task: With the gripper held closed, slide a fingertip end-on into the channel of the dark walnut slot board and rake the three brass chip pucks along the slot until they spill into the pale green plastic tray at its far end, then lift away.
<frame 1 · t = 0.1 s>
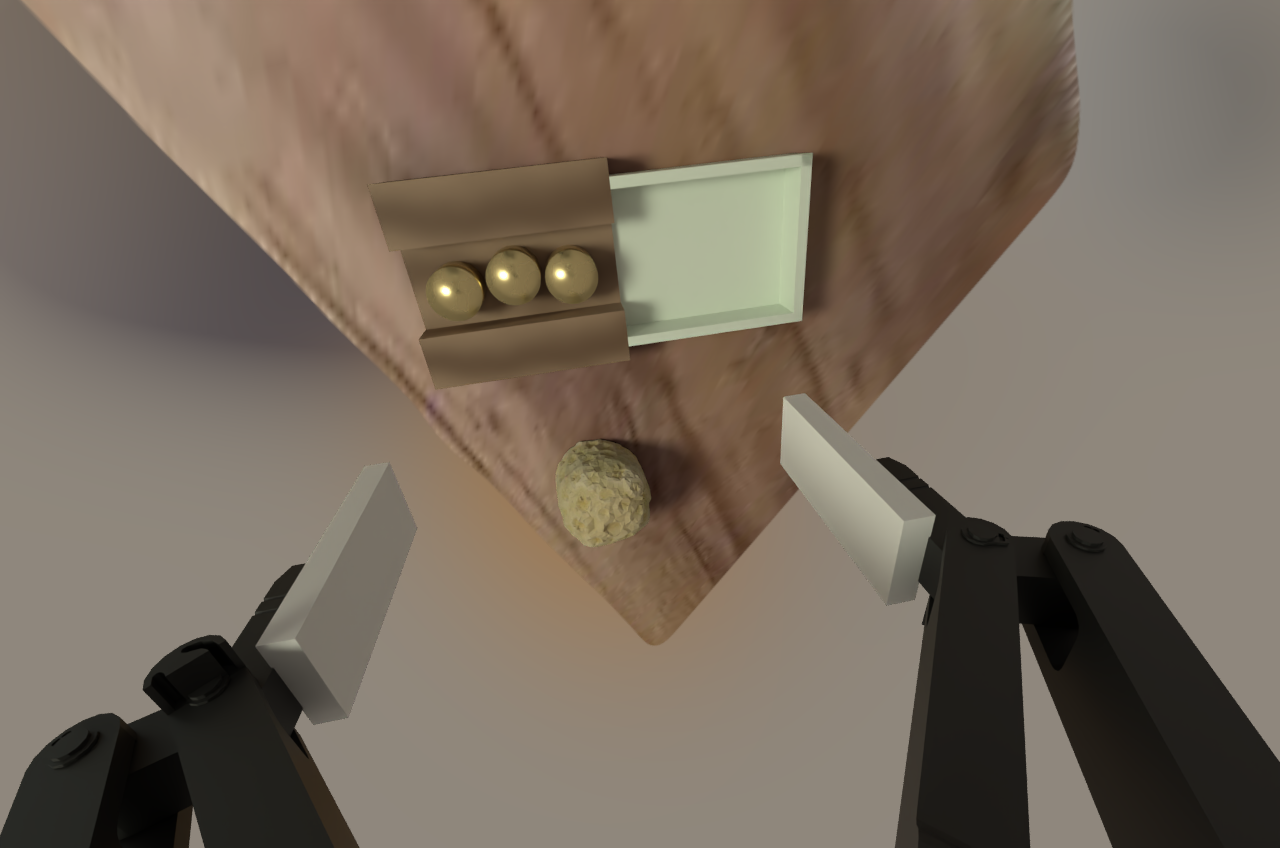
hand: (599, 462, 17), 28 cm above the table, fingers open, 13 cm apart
chip b: (515, 271, 39), point 1 cm above the table, touching slot board
chip a: (459, 287, 39), point 1 cm above the table, touching slot board
slot board: (517, 273, 40), on the table
chip c: (570, 271, 40), point 1 cm above the table, touching slot board
tray: (702, 248, 41), on the table
decorative object: (601, 474, 51), on the table
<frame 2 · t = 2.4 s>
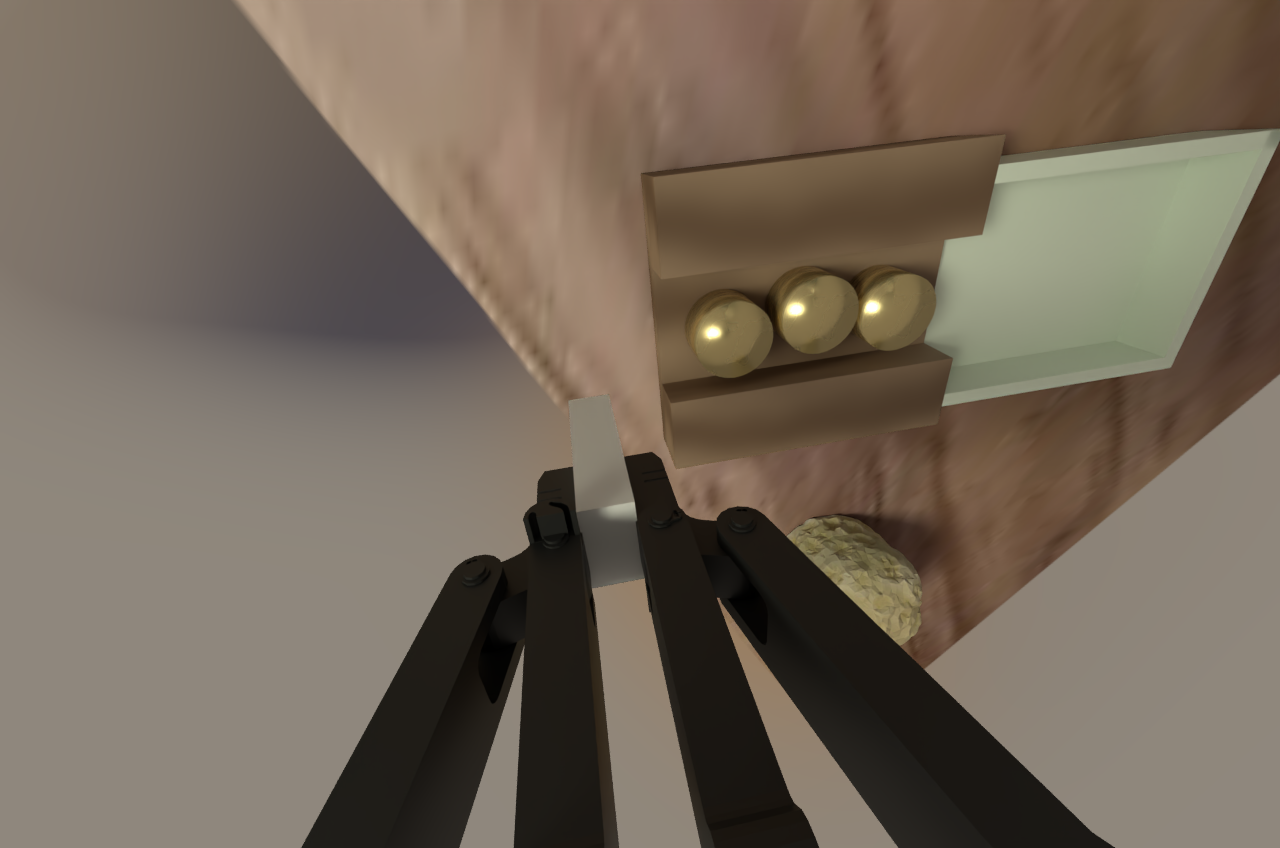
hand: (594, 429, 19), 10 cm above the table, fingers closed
chip b: (799, 303, 27), point 1 cm above the table, touching slot board
chip a: (720, 325, 27), point 1 cm above the table, touching slot board
slot board: (791, 303, 28), on the table
chip c: (872, 301, 28), point 1 cm above the table, touching slot board
tray: (1041, 267, 29), on the table
decorative object: (823, 555, 39), on the table
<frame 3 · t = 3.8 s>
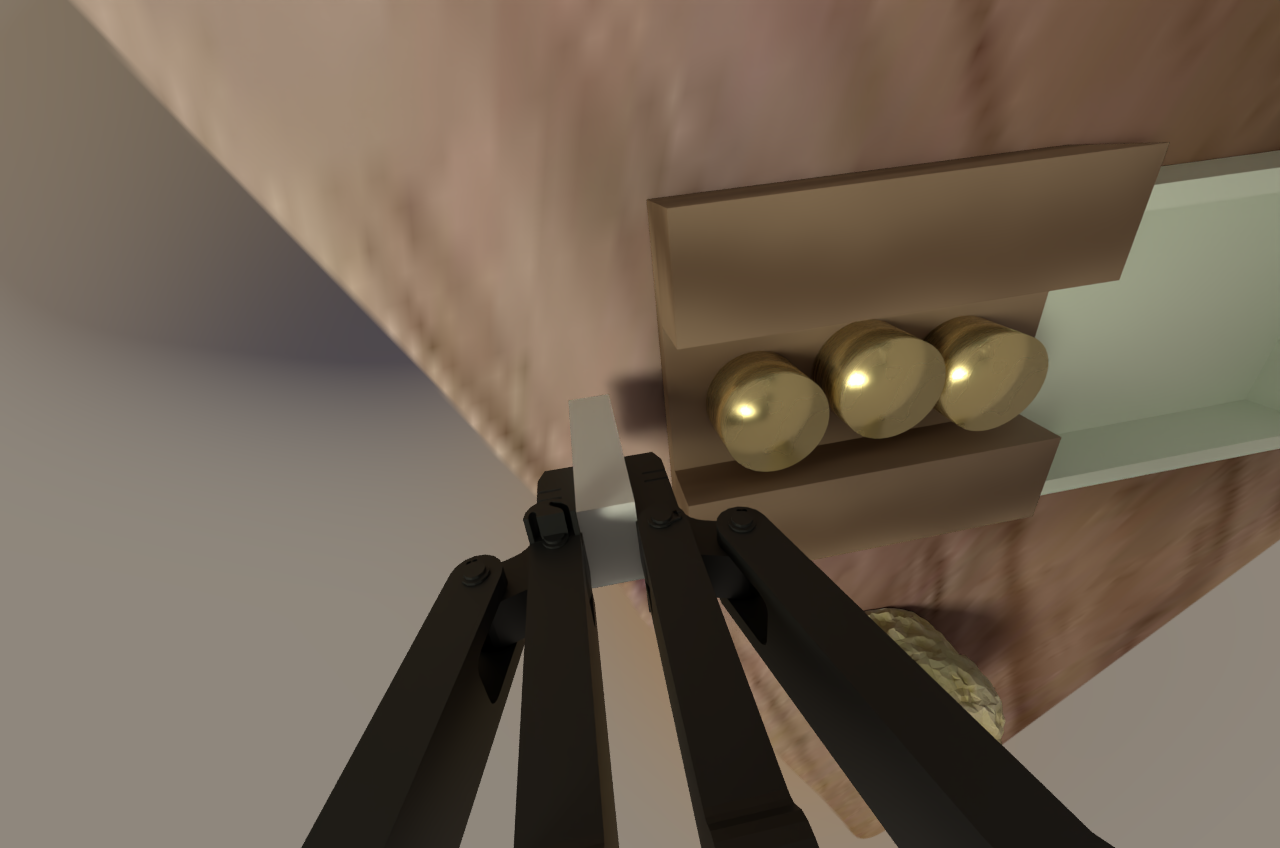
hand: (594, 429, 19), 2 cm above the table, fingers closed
chip b: (857, 366, 20), point 1 cm above the table, touching slot board
chip a: (752, 397, 20), point 1 cm above the table, touching slot board
slot board: (844, 364, 21), on the table
chip c: (951, 361, 21), point 1 cm above the table, touching slot board
tray: (1163, 312, 23), on the table
decorative object: (868, 650, 32), on the table
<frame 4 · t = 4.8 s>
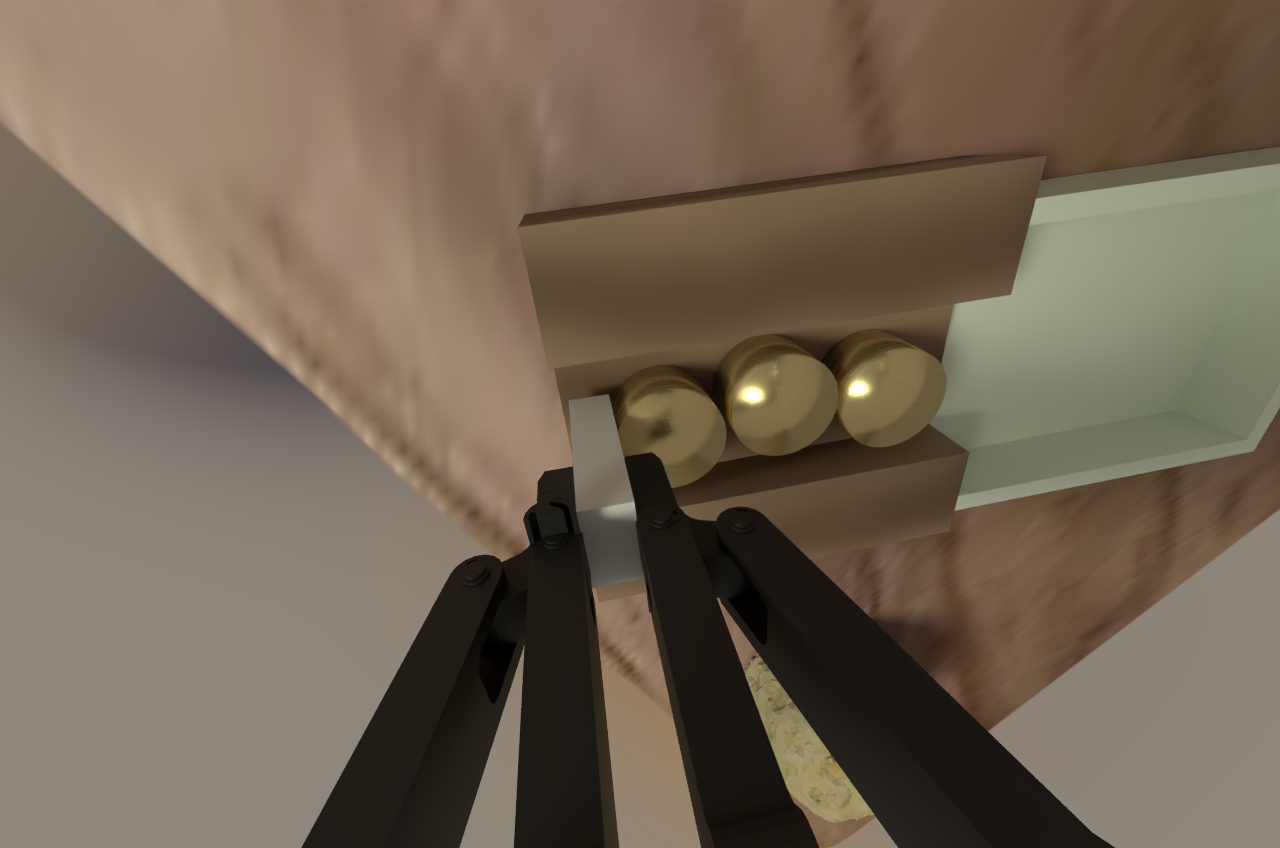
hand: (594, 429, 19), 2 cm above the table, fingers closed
chip b: (760, 381, 20), point 1 cm above the table, touching slot board
chip a: (659, 411, 20), point 1 cm above the table, touching gripper, slot board
slot board: (751, 378, 21), on the table
chip c: (859, 375, 21), point 1 cm above the table, touching slot board
tray: (1081, 323, 22), on the table
decorative object: (808, 662, 32), on the table
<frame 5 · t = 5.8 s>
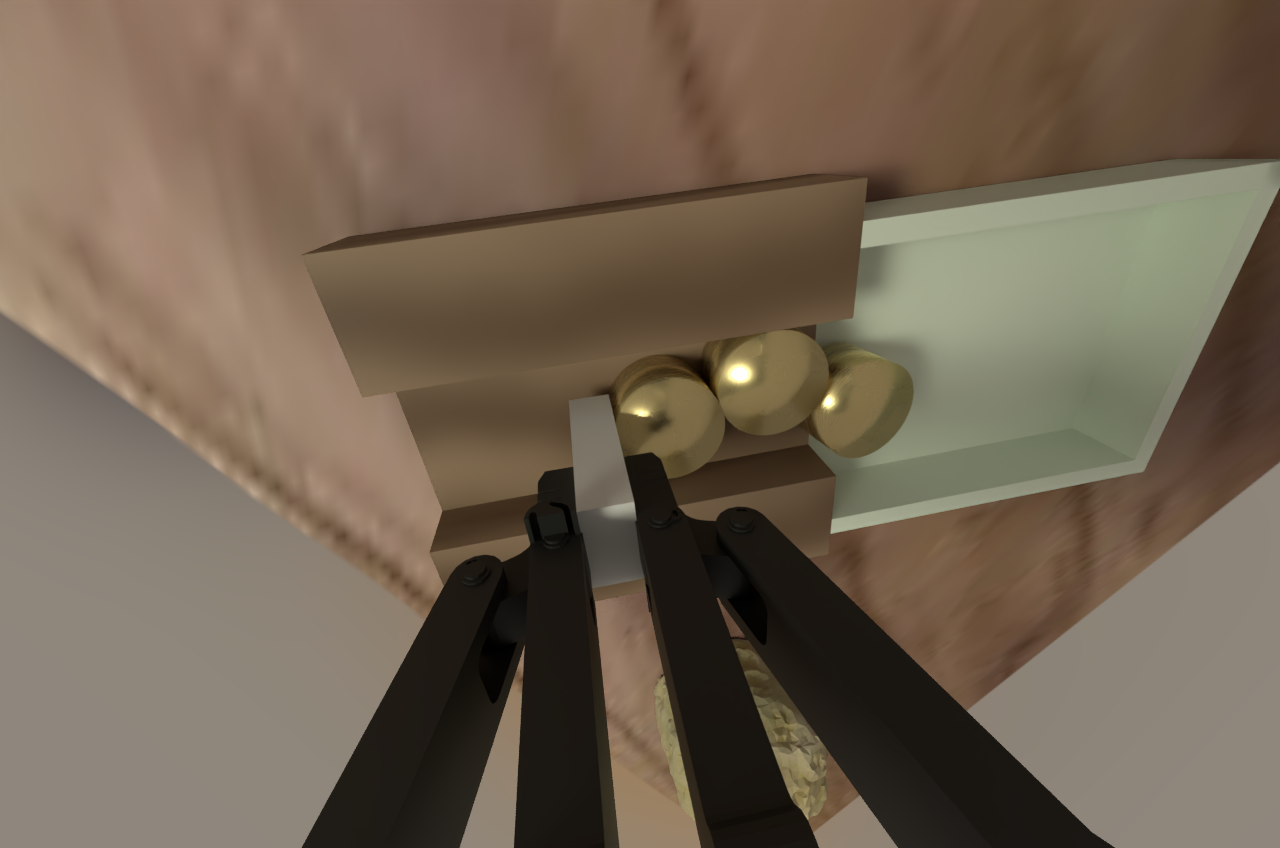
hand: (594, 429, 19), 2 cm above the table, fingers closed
chip b: (749, 360, 19), point 1 cm above the table, touching chip a, chip c
chip a: (657, 401, 20), point 1 cm above the table, touching chip b, gripper
slot board: (618, 399, 20), on the table
chip c: (827, 387, 21), point 1 cm above the table, tilted 10°, touching chip b, slot board, tray
tray: (964, 341, 22), on the table
decorative object: (722, 680, 31), on the table
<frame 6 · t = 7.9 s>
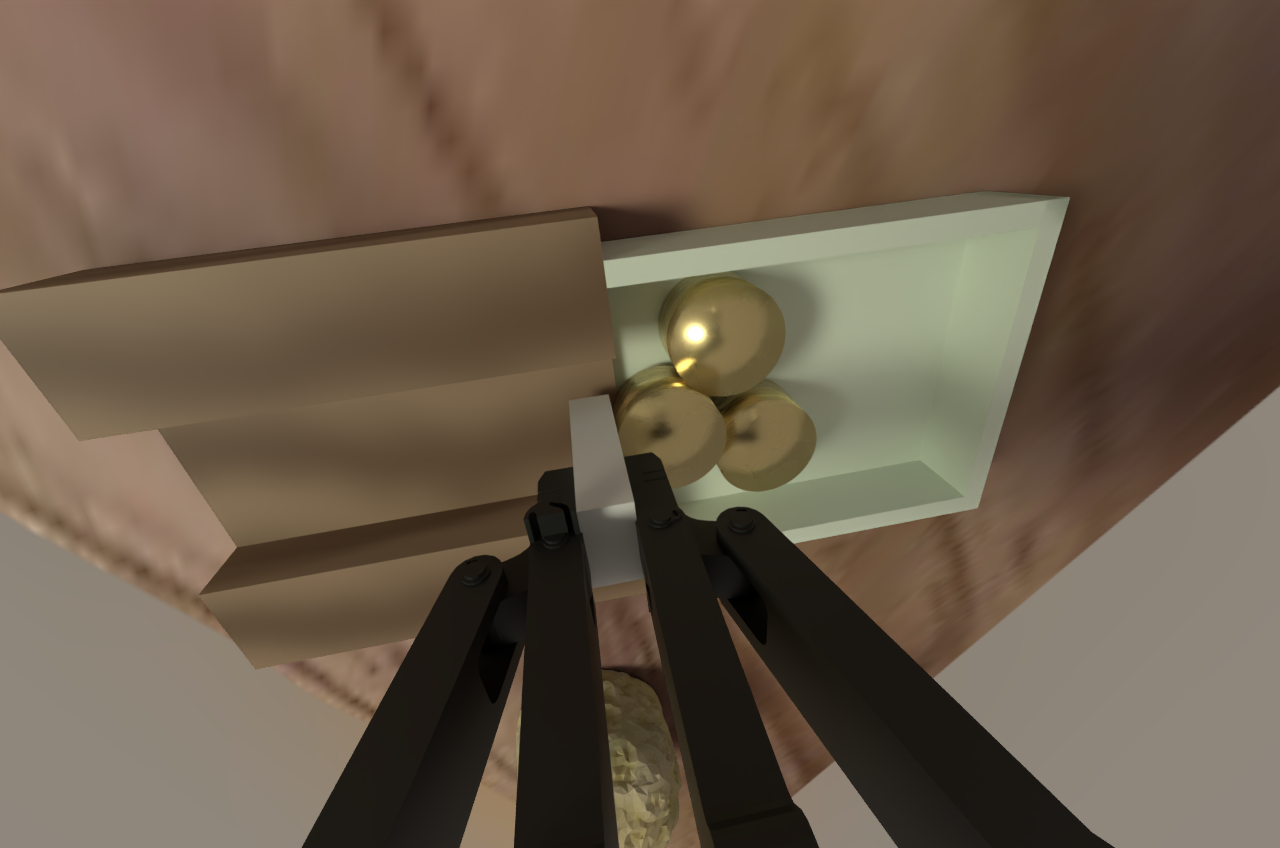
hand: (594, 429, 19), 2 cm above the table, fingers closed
chip b: (709, 321, 19), resting on tray, touching chip a
chip a: (659, 412, 20), point 1 cm above the table, touching chip b, chip c, gripper, slot board
slot board: (420, 433, 20), on the table
chip c: (745, 419, 21), point 1 cm above the table, touching chip a, tray
tray: (789, 373, 21), on the table
decorative object: (594, 709, 31), on the table
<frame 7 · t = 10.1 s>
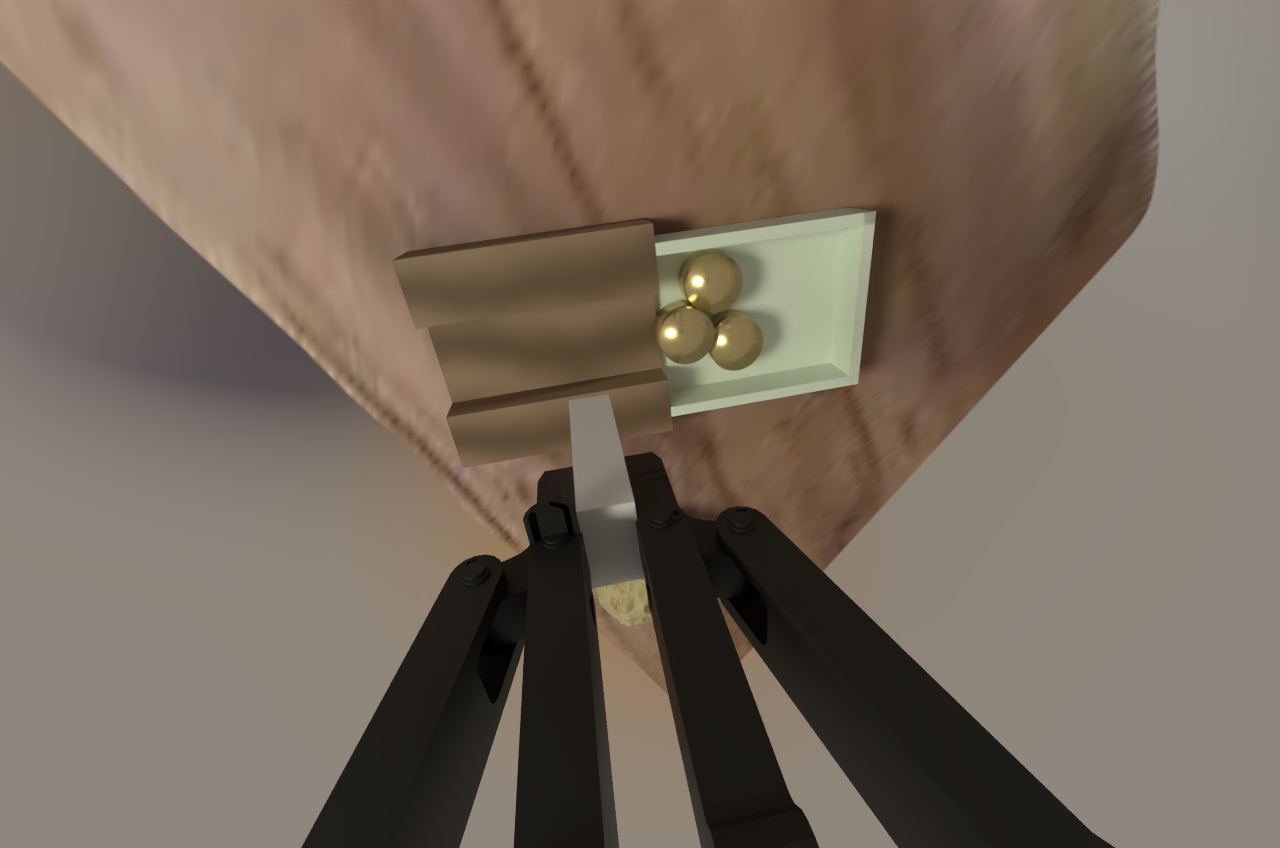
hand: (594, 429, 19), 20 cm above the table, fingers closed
chip b: (704, 277, 36), resting on tray, touching chip a
chip a: (678, 327, 37), point 1 cm above the table, touching chip b, chip c, slot board
slot board: (550, 340, 37), on the table
chip c: (726, 335, 38), resting on tray, touching chip a
tray: (749, 308, 38), on the table
decorative object: (635, 540, 47), on the table
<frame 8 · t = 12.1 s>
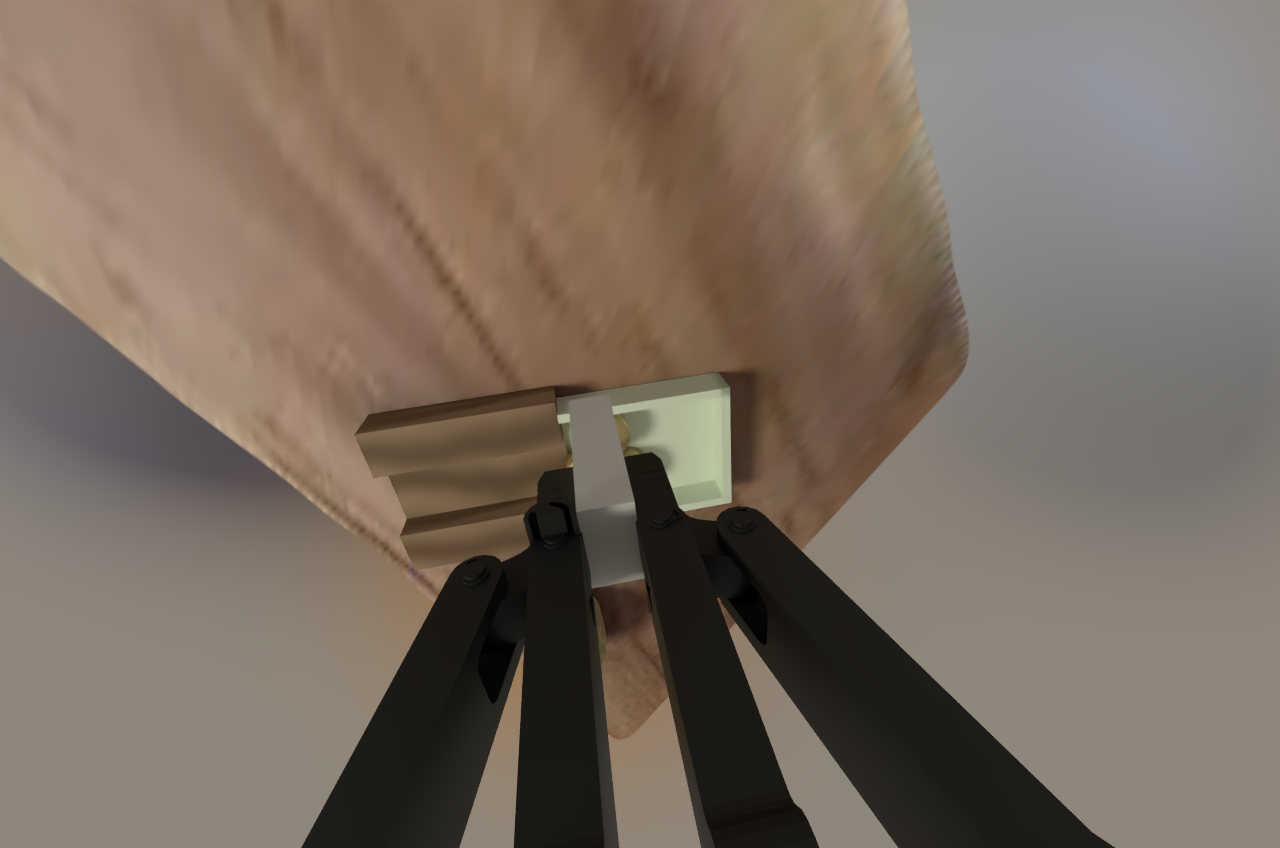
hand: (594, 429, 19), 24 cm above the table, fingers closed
chip b: (605, 424, 46), resting on tray, touching chip a
slot board: (484, 470, 47), on the table
tray: (645, 443, 48), on the table
decorative object: (565, 610, 58), on the table
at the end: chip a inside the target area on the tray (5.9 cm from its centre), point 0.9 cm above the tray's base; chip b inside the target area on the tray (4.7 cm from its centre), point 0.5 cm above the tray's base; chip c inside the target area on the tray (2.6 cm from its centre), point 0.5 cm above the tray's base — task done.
